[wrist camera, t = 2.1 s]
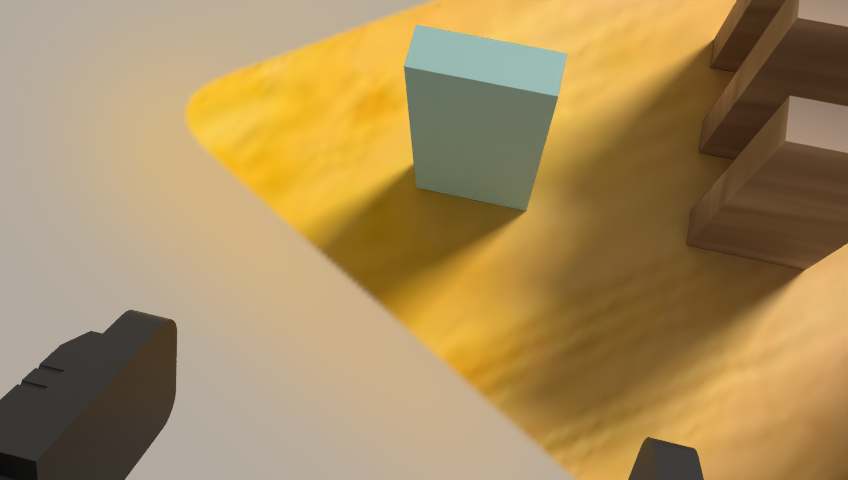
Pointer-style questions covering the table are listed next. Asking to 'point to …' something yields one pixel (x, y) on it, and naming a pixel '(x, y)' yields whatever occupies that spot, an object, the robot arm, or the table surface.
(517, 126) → the teal domino
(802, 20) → the domino
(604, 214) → the table surface
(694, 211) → the domino
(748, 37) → the domino
